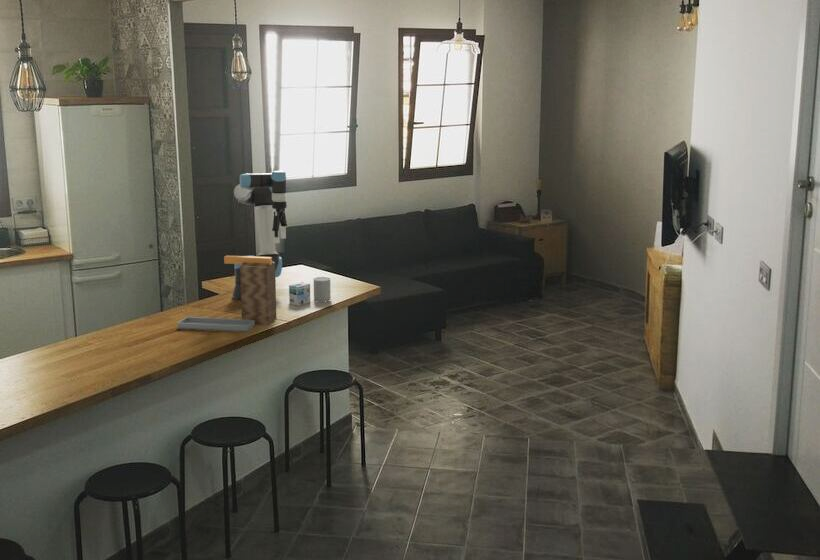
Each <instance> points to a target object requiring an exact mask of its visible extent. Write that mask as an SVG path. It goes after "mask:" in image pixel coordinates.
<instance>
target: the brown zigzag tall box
mask: <svg viewBox="0 0 820 560" xmlns="http://www.w3.org/2000/svg"><path fill="white" fill-rule="evenodd" d="M240 281H241V300H240V302H241V303H240V305H241V306H240V307H241V309H240V310H241V319H244V320H255V324H260V325H259V326H270V325H271V324H272V323H273V322H274V321H275V320H277V293H276V292H277V289H276V288H277V283H276V277H275V262H273V261H272V264H271V265H270V263H244V262H243V263H242V265H241V266H240ZM270 323H271V324H270Z"/></svg>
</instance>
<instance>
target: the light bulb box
mask: <svg viewBox="0 0 820 560" xmlns="http://www.w3.org/2000/svg"><path fill="white" fill-rule="evenodd" d="M288 292H289V294H288V296H289V298H288V299H289V300H288V301H289V305H295V306H297V305H298V306H301V304H302V305H305V304H309V303H311V284H310V283H308V282H304V281H300V282H296V283H293V284H289V285H288ZM308 302H309V303H308Z"/></svg>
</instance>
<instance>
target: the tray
mask: <svg viewBox="0 0 820 560" xmlns="http://www.w3.org/2000/svg"><path fill="white" fill-rule="evenodd" d="M176 325H177V329H179V330H190V329H195V331H211V330H219V331H218V332H231V331H236V333H249V332H250V331H251V330H252V329H253V328H254V327H255V326H256V325H255V320H244V319H242V318H241V319H239V318H221V317H220V318H218V317H199V316H197V317H195V316H185V318H183V319H181V320H180V321H178V322H177V324H176ZM252 327H253V328H252ZM251 328H252V329H251ZM250 329H251V330H250ZM249 330H250V331H249Z"/></svg>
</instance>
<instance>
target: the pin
mask: <svg viewBox="0 0 820 560" xmlns="http://www.w3.org/2000/svg"><path fill="white" fill-rule="evenodd" d="M223 260H224V261H223V262H224V263H223V264H224V265H225V264H227V265H228V264H230V265H235V264H242V263H243V262H244V263H270V265H271V264H272V257H258V256H255V255H225V256H224V257H223Z"/></svg>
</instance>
